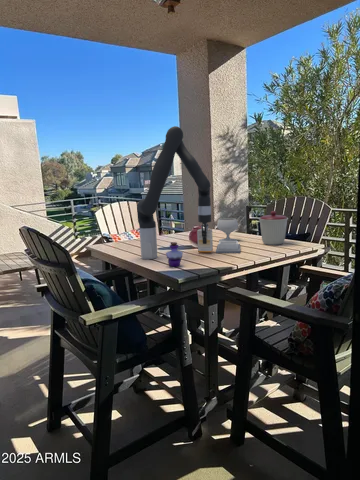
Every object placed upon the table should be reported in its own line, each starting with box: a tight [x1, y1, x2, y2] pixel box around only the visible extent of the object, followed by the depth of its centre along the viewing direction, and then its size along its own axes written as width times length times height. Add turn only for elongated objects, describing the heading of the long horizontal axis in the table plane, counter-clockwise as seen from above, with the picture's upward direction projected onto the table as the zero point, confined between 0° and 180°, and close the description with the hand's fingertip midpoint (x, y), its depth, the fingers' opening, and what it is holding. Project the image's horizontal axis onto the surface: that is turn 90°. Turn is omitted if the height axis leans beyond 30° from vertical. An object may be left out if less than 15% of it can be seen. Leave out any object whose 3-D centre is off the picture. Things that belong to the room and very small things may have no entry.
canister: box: [258, 210, 289, 246], centre depth 222 cm, size 18×18×21 cm
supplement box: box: [196, 228, 214, 253], centre depth 203 cm, size 8×5×13 cm, turn 74°
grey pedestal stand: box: [215, 240, 241, 254], centre depth 211 cm, size 22×14×4 cm, turn 171°
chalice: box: [217, 217, 239, 242], centre depth 239 cm, size 14×14×15 cm
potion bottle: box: [165, 241, 184, 268], centre depth 176 cm, size 9×9×12 cm
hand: (205, 242), depth 204 cm, fingers closed on supplement box, 5 cm apart
